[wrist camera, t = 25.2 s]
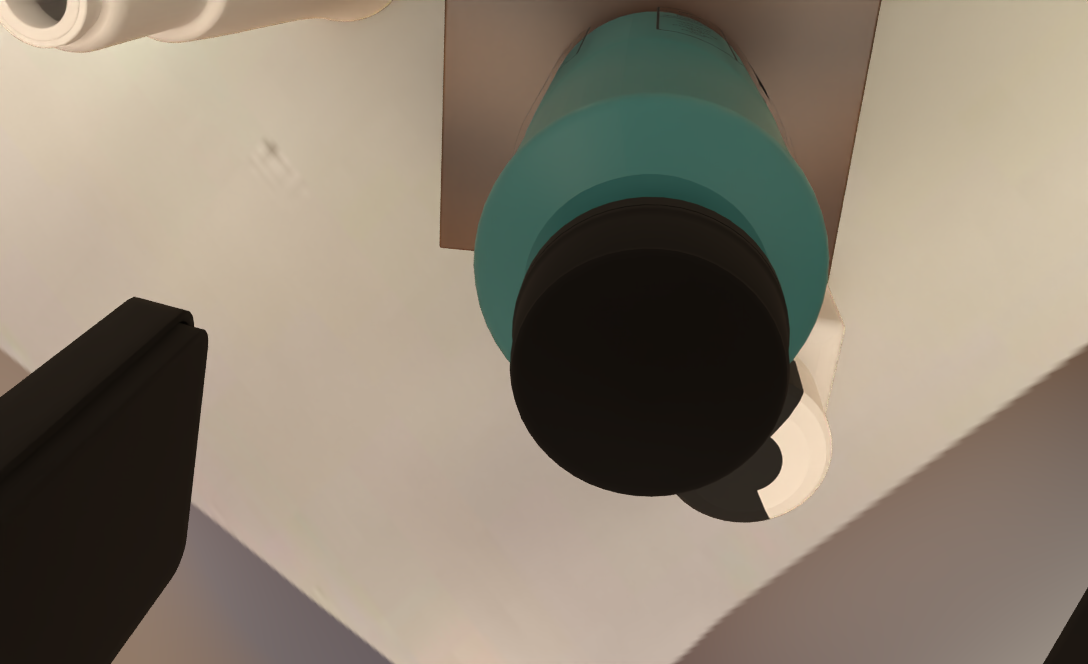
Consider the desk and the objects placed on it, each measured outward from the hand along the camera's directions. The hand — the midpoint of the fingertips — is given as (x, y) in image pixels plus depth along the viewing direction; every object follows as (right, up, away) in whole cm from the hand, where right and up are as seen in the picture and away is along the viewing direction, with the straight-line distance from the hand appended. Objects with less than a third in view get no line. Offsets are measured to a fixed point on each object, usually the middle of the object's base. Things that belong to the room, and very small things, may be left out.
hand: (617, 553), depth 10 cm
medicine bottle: (+8, +3, +36) cm, 37 cm away
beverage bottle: (+3, +9, +22) cm, 24 cm away
